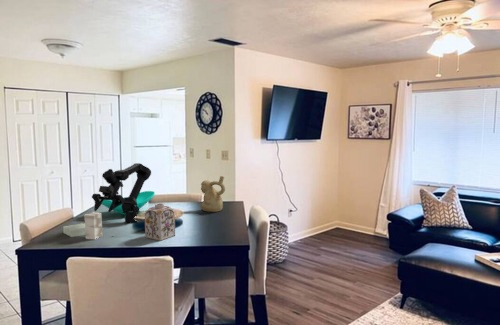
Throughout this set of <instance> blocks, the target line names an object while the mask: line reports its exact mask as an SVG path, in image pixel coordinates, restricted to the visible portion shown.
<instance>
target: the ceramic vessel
mask: <svg viewBox="0 0 500 325" xmlns="http://www.w3.org/2000/svg"><path fill="white" fill-rule="evenodd" d="M224 179H225V177H224V176H221V175H220V176H219V180H218V181H215V180H213V181H209V180H208V179H207V180H206V179H205V180H203V181H202V182H201V183H200V186H201V187H200V190H201V192H202V193H203V194H204V195H203V200H202V203H201V205H200V208H201V210H202V211H203V212H204V211H205V212H209V213H216V212H217V213H218V212H221V211H222V210H223V208H224V207H223V206H224V204H223V203H224V202H223V199H222V195H223V194H224V193H225V191H226V187H225V184H224V183H223V182H224ZM215 185H216V186H219V187H220V188H221V189H220V190H219V191H218V190H217V189H216V188H214V186H215Z"/></svg>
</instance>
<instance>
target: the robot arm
mask: <svg viewBox="0 0 500 325" xmlns="http://www.w3.org/2000/svg"><path fill="white" fill-rule="evenodd" d="M134 173H136V181H135V182H134V185H133V187H132V188H131V191H130V192H129V196H127V197H126V196H125V198H124V197H123V196H122V194H119V190H120V188H124V184H123V182H121V181H124V182H125V181H127V179H129V177H130V176H131V175H133V174H134ZM151 176H152V170H151V169H150V168H149V167H147V166H146V165H143V163H139V162H138V163H133V164H131V165H130V166H128V167H126V168H125V169H119V170H118V169H117V170H115V171H114V170H113V169H112V168H110V169H109V168H108V169H107V170H105V171H104V172H103V173H102V178H103V179H104V180H105V182H106V183H107V184H109V185H108V186H106V185H100V186H99V189H98V192H99V193H93V194H92V195H91V199H92V200H93V201H94V209H93V210H94V211H93V212H96V211H97V210H98V209H99V208H100V207H101V205H102V202H103V200H111V201H112V204H111V206H110V208H108V211H107V212H109V213H111V212H112V211H113V209H115V208H116V207H118V206H119V205H121V204H122V210H123V213H126V214H124V222H125V223H126V224H136V223H138V220H137V221H135V220H134V219H133V218H134V217H135V216H137V215H138V213H139V212H140V209H139V208H138V206H137V197H138V195H139V193H140V192H141V190H142V188H143V186H144V184H145V182H146V181H147V180H149V178H150V177H151ZM100 193H101V194H102V195H101V194H100Z"/></svg>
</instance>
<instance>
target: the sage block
mask: <svg viewBox="0 0 500 325" xmlns="http://www.w3.org/2000/svg"><path fill="white" fill-rule="evenodd" d="M62 228H63V234H64V235H67V236H69V237H71V238H74V237H79V236H84V235H85V222H81V223H78V224H77V223H75V224H70V225H66V226H65V225H64V226H62Z"/></svg>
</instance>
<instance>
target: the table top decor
mask: <svg viewBox="0 0 500 325" xmlns="http://www.w3.org/2000/svg"><path fill="white" fill-rule="evenodd" d="M155 194H156V193H155V191H152V190H144V191H140V193H139V195H138V197H137V206H138V208H139V210H140V209H141V208H142V207H144V206H145V205H146V204H147V203H148V202H150V201H151V200H152V199H153V198H154V196H155ZM125 197H126V196H125ZM125 197H123V198H125ZM111 204H112V201H111V200H103V202H102V204H101V205H102V206H104V207H106V208H108V209H109V208H110V206H111ZM112 211H114V212H116V213H118V214H120V215H126V213H123V210H122V204H121V205H119V206H118V207H116V208H115V209H113V210H112Z"/></svg>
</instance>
